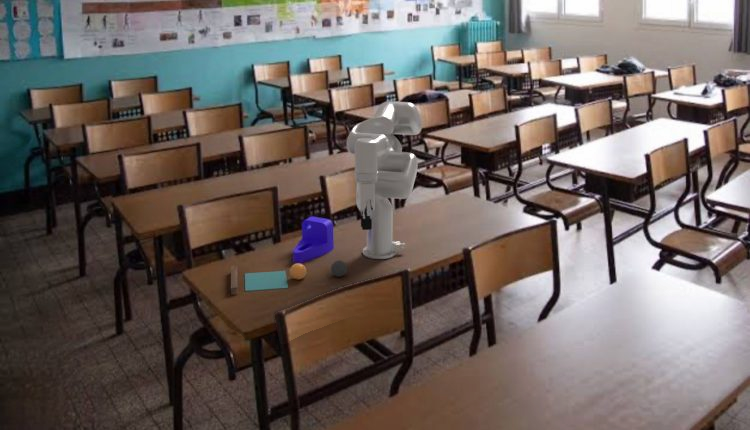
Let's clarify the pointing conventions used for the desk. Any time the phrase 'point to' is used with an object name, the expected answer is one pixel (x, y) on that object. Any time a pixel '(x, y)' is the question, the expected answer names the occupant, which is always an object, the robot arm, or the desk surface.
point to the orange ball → (298, 271)
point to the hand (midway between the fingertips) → (366, 227)
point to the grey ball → (338, 268)
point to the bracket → (314, 239)
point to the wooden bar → (234, 280)
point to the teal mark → (265, 281)
